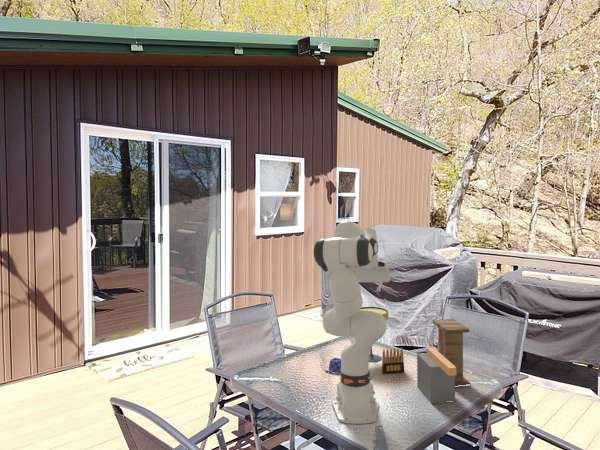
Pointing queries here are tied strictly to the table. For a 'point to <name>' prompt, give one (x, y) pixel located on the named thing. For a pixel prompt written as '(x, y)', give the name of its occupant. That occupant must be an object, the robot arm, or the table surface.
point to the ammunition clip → (392, 362)
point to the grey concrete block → (434, 380)
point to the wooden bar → (441, 361)
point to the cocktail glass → (385, 313)
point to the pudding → (335, 365)
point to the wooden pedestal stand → (452, 345)
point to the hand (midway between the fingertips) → (368, 291)
